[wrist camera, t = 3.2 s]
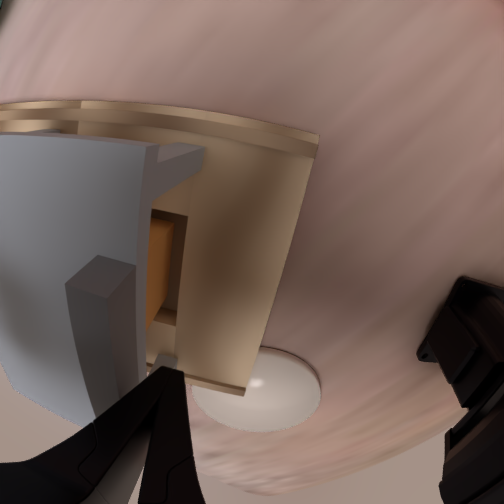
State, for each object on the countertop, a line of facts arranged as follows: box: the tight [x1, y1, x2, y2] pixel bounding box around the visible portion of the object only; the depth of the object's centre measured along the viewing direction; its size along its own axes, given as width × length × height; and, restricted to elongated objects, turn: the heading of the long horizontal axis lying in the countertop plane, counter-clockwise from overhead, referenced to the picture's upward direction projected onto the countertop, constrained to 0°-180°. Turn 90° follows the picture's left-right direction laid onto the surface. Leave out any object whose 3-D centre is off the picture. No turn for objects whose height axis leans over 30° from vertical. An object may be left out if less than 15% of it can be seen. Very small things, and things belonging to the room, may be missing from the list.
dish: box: [192, 347, 321, 432], centre depth 19 cm, size 9×9×1 cm
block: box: [146, 218, 174, 331], centre depth 13 cm, size 4×4×6 cm
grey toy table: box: [0, 129, 205, 428], centre depth 11 cm, size 9×14×8 cm, turn 168°
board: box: [0, 101, 320, 397], centre depth 15 cm, size 27×16×2 cm, turn 78°
